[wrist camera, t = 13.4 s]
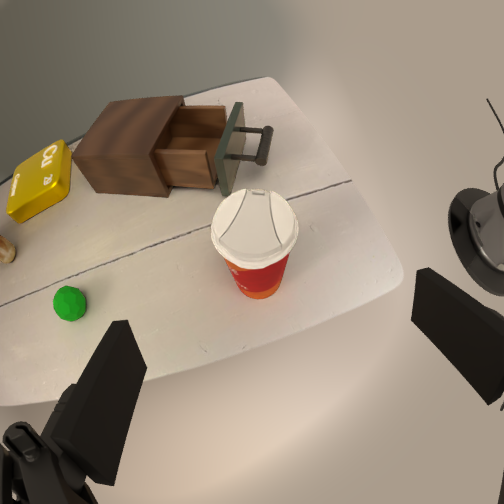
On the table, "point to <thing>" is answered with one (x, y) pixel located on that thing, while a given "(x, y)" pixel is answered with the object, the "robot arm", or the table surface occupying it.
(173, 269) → the table surface
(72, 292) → the polyhedron
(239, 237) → the paper cup
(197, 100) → the table surface
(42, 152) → the element tile
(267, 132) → the drawer
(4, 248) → the decorative mushroom
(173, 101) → the cabinet
